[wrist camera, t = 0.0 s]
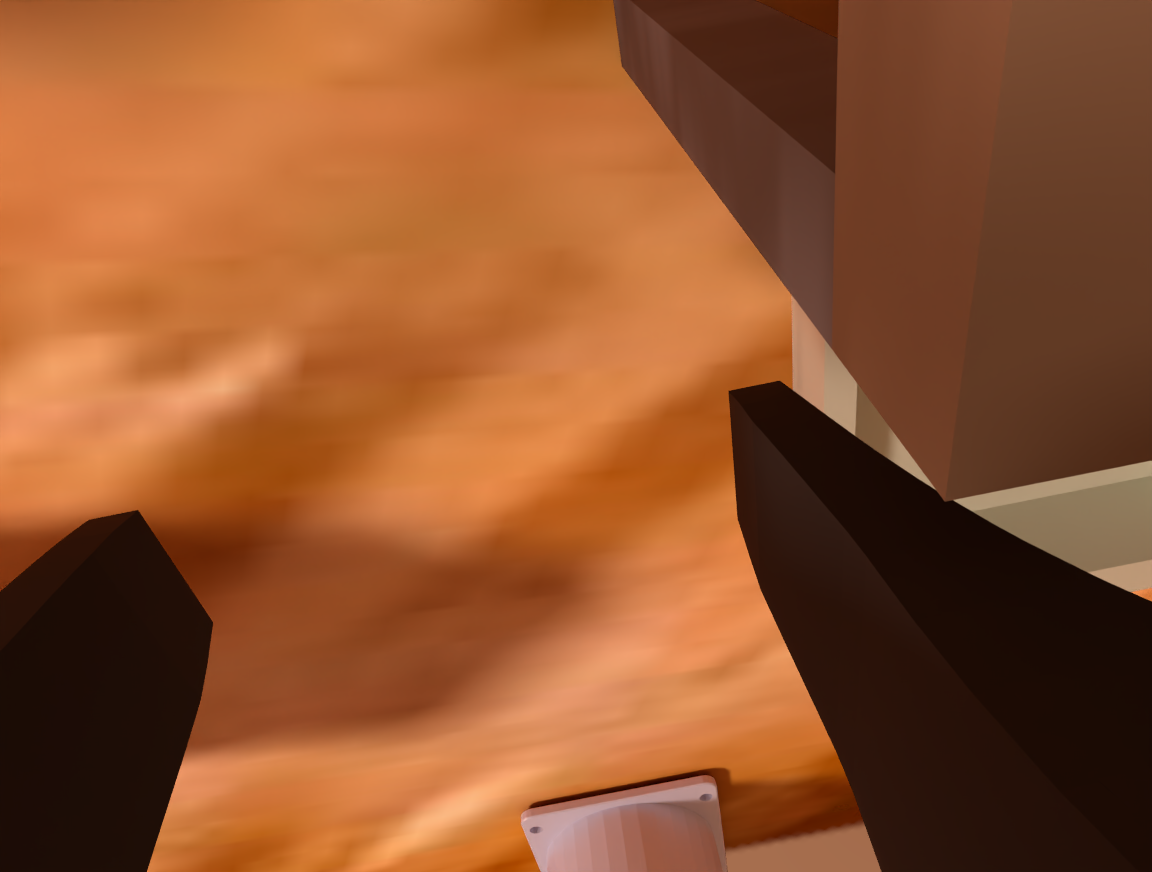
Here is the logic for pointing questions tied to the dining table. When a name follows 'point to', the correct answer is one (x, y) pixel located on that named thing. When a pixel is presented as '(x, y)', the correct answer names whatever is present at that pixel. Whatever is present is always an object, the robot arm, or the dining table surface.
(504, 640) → the dining table surface
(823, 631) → the robot arm
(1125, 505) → the tray
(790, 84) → the miniature side table
